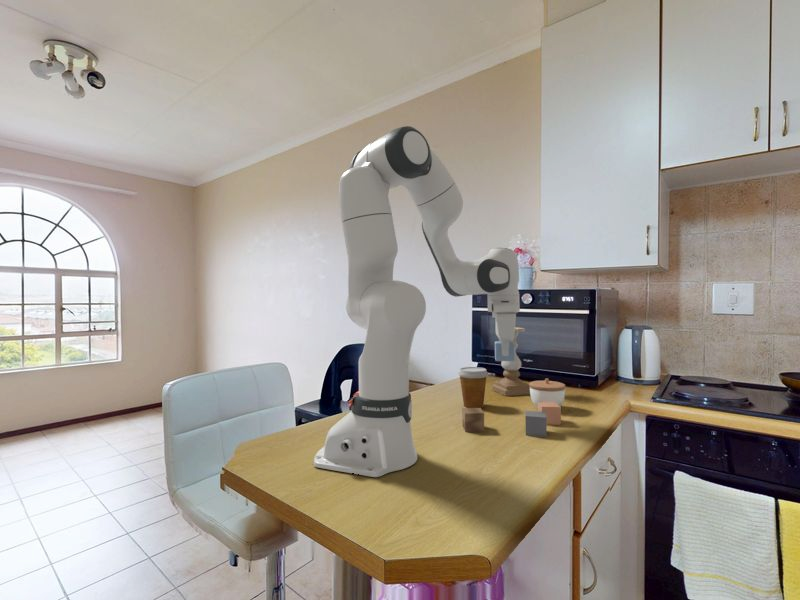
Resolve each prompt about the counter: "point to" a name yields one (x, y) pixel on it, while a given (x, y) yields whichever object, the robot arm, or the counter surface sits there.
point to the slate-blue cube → (499, 352)
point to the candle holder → (512, 375)
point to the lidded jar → (547, 391)
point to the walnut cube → (473, 419)
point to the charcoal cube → (536, 423)
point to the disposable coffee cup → (473, 386)
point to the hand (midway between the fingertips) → (504, 354)
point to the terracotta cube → (550, 412)
